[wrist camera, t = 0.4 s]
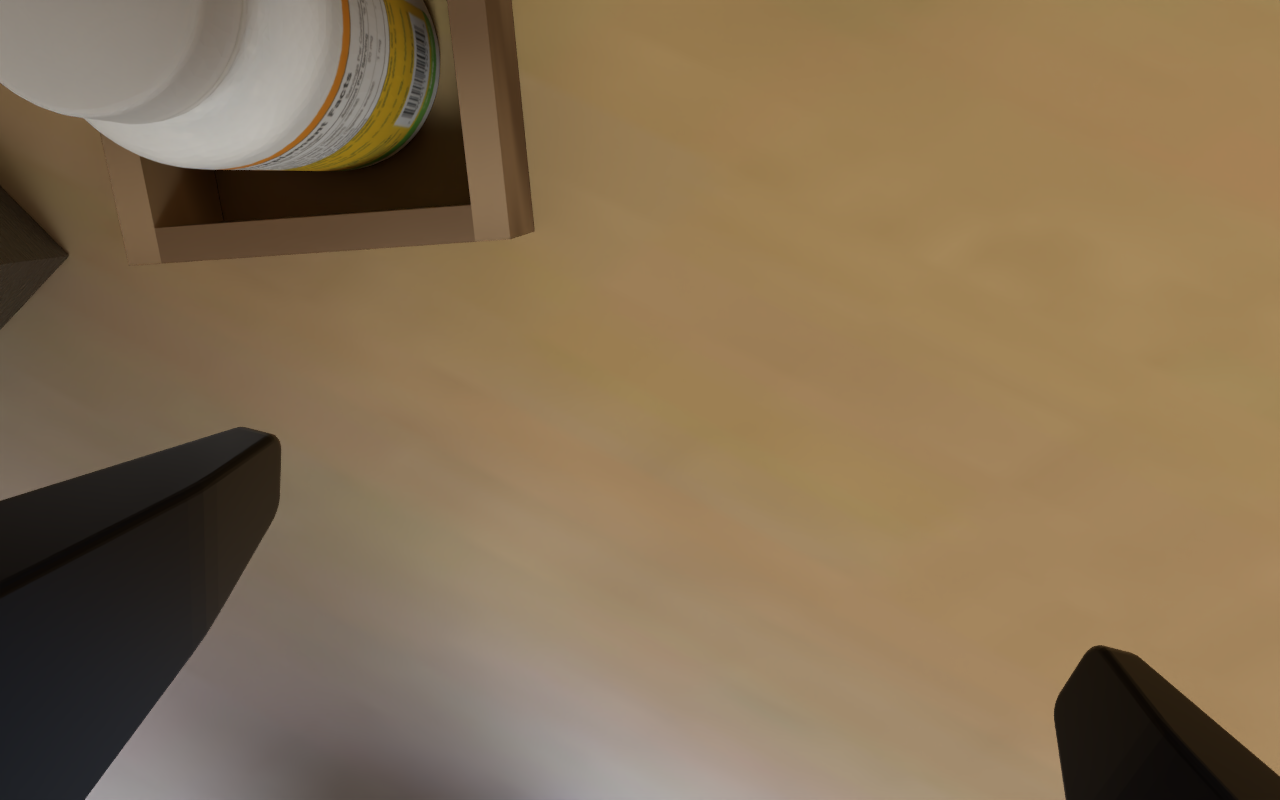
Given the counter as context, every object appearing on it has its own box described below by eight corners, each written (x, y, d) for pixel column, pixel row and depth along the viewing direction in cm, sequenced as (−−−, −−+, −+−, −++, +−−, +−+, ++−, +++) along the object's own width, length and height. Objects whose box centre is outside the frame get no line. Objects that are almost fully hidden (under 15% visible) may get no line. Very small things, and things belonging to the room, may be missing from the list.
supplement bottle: (191, 15, 21) (-203, -111, 12) (368, -105, 20) (92, -343, 11) (311, 210, 22) (34, 233, 13) (485, 104, 22) (322, 47, 12)
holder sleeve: (534, 231, 22) (510, 239, 19) (200, 254, 23) (128, 265, 20) (495, -163, 20) (461, -220, 17) (127, -124, 21) (34, -173, 18)
